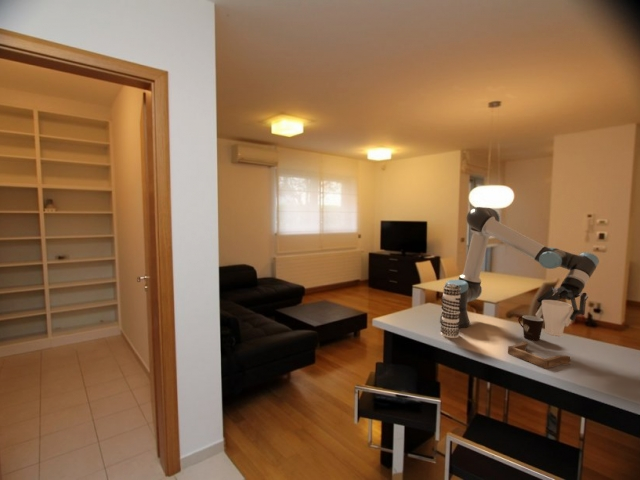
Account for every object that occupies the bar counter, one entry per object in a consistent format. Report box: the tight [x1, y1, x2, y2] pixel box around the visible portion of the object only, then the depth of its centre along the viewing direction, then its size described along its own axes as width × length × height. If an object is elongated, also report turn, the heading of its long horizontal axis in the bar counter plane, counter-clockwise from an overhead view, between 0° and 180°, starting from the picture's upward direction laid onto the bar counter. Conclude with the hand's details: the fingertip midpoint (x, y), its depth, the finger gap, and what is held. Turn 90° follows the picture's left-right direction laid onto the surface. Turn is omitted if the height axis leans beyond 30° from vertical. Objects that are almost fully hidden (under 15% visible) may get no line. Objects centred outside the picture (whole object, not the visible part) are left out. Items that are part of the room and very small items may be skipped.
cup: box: [542, 300, 573, 337], centre depth 138 cm, size 10×10×14 cm
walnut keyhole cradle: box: [507, 340, 571, 370], centre depth 134 cm, size 19×14×3 cm
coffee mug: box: [518, 315, 544, 342], centre depth 158 cm, size 12×9×10 cm
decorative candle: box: [440, 284, 462, 339], centre depth 158 cm, size 9×9×25 cm
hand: (550, 320), depth 137 cm, fingers closed on cup, 10 cm apart
